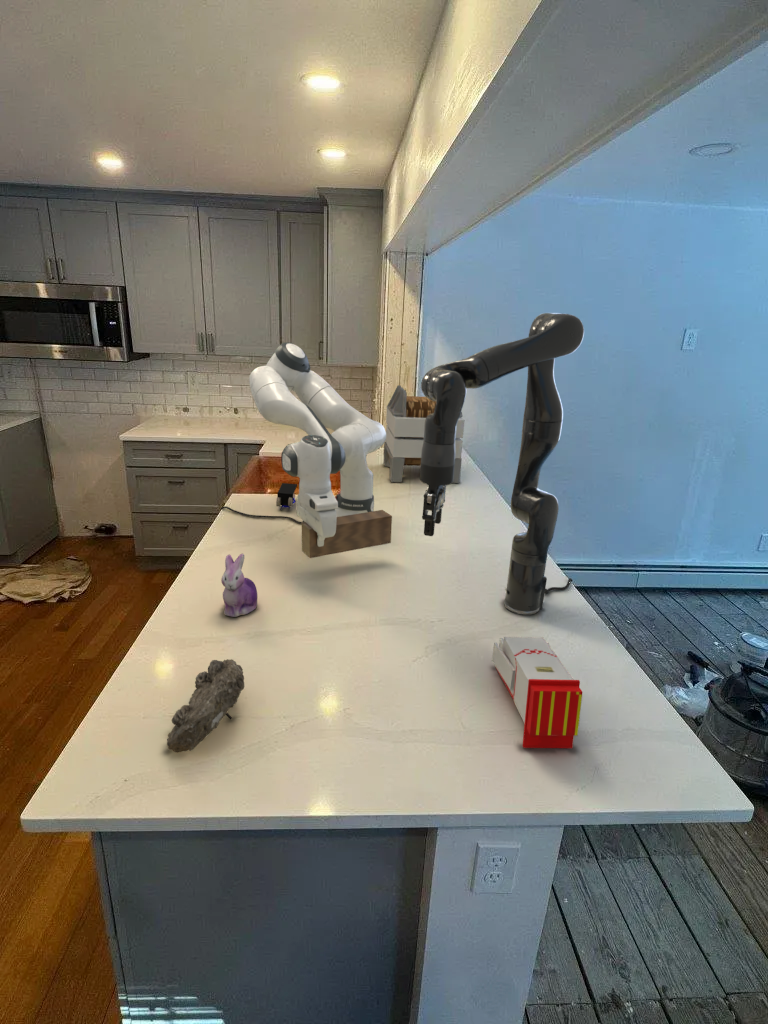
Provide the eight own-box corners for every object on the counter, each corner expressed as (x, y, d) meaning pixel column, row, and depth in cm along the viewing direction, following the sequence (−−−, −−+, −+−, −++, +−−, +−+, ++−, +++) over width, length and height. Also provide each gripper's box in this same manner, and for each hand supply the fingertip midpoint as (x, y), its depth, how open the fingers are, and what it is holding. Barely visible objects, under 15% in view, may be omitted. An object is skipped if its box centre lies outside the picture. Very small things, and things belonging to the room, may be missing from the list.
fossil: (192, 660, 117) (244, 628, 112) (224, 691, 120) (276, 661, 115) (142, 746, 98) (202, 712, 93) (182, 779, 101) (242, 748, 96)
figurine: (226, 621, 140) (223, 566, 135) (217, 603, 148) (214, 550, 143) (264, 614, 144) (262, 560, 139) (253, 596, 153) (251, 545, 148)
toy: (540, 620, 128) (592, 687, 99) (535, 674, 131) (584, 755, 102) (487, 619, 128) (523, 686, 99) (483, 673, 131) (517, 754, 101)
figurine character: (293, 515, 216) (298, 499, 229) (292, 497, 212) (297, 481, 226) (275, 515, 216) (281, 498, 229) (274, 497, 212) (280, 481, 226)
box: (309, 558, 159) (309, 529, 156) (301, 550, 164) (301, 522, 161) (390, 542, 172) (392, 515, 169) (381, 536, 177) (382, 509, 174)
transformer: (382, 463, 289) (386, 382, 275) (445, 464, 293) (451, 384, 279) (390, 482, 257) (394, 392, 243) (460, 483, 261) (468, 394, 247)
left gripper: (290, 485, 164) (291, 530, 169) (318, 507, 147) (318, 556, 152) (311, 483, 167) (311, 527, 172) (340, 504, 150) (340, 552, 155)
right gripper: (448, 471, 119) (442, 542, 124) (459, 455, 132) (453, 521, 137) (414, 467, 121) (409, 537, 126) (427, 452, 134) (423, 516, 139)
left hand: (315, 541), depth 162 cm, fingers closed on box, 6 cm apart
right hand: (432, 528), depth 132 cm, fingers open, 8 cm apart
